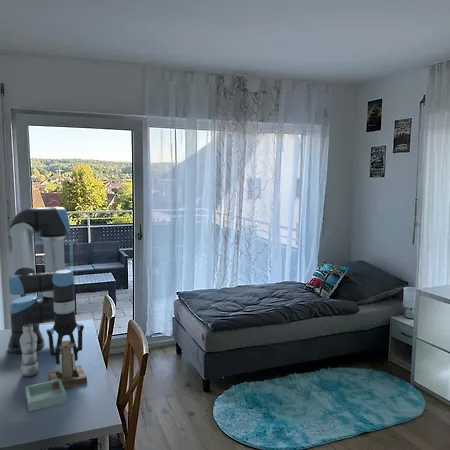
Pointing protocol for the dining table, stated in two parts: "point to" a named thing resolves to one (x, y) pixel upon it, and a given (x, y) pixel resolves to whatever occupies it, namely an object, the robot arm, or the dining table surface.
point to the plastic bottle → (29, 351)
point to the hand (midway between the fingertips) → (67, 370)
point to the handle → (66, 359)
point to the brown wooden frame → (69, 383)
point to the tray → (45, 395)
